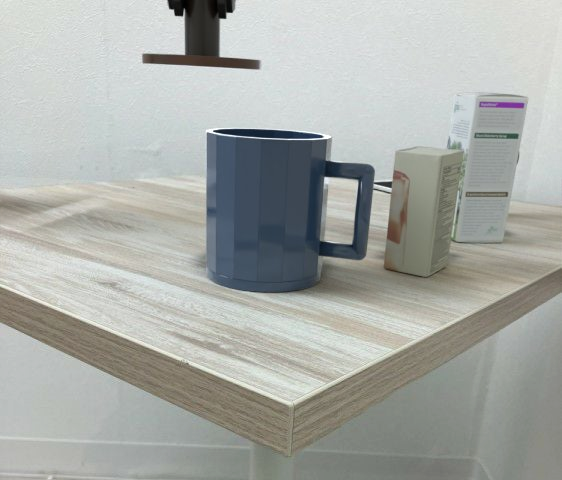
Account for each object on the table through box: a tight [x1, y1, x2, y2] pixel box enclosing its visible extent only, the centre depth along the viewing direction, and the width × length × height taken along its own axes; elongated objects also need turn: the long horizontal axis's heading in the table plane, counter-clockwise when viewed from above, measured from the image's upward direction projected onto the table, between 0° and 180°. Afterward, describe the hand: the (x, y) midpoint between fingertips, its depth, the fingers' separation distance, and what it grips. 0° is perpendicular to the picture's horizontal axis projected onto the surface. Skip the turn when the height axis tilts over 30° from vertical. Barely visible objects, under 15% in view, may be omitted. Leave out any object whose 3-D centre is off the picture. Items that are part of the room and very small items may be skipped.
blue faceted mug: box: [205, 127, 376, 293], centre depth 50 cm, size 13×9×11 cm
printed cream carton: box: [383, 146, 464, 278], centre depth 55 cm, size 5×4×10 cm
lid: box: [141, 0, 263, 71], centre depth 57 cm, size 11×11×8 cm
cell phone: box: [373, 178, 393, 194], centre depth 97 cm, size 8×16×1 cm, turn 31°
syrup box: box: [446, 91, 529, 244], centre depth 68 cm, size 6×6×14 cm
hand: (200, 8), depth 55 cm, fingers closed on lid, 3 cm apart
